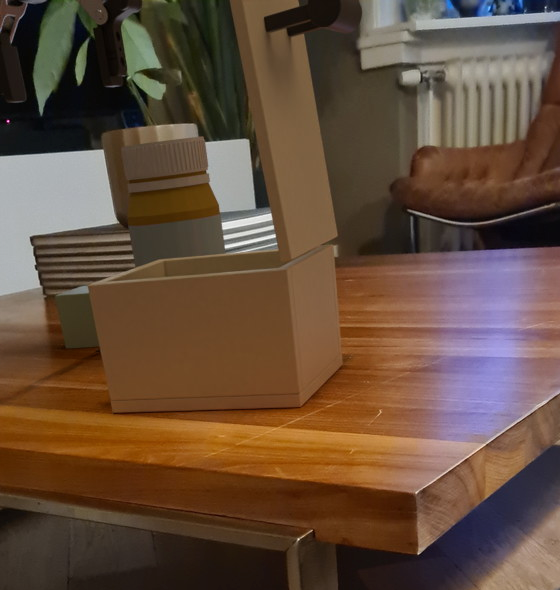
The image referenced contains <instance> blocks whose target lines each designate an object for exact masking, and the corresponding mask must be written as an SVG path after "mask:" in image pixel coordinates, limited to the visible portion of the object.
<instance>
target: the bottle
mask: <svg viewBox="0 0 560 590" xmlns="http://www.w3.org/2000/svg"><path fill="white" fill-rule="evenodd" d="M120 153H121V159H122V164H123V170H124V176H125V178H126V181H128V183H126V186H127V190H128V193H129V198H128V206H127V213H126V219H127V226H128V233H129V240H130V244H131V251H132V256H133V263H134V268H137V267H139V266H142V265H145V264H148V263H151V262H153V261H156V260H159V259H171V258H182V257H194V256H205V255H216V254H227V253H226V246H225V238H224V231H223V223H222V215H221V211H220V203H219V202H218V200H217V197H216V195H215V193H214V191H213V188H212V187H211V185H210V182H211V178H210V173H208V172H207V171H208V170H209V159H208V152H207V145H206V139H204V136H193V137H186V138H185V137H184V138H175V139H167V140H160V141H152V142H145V143H144V142H143V143H138V144H136V143H135V144H129V145H124V146H121V150H120Z"/></svg>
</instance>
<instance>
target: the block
mask: <svg viewBox="0 0 560 590" xmlns="http://www.w3.org/2000/svg"><path fill="white" fill-rule="evenodd" d="M54 300H55V304H56V309H57V313H58V319H59V323H60V328H61V332H62V337H63V343H64V346H65V349H82V348H97V347H99V349H98V350H95V351H94V353H101V351H100V346H99V341H98V336H97V331H96V326H95V321H94V316H93V311H92V306H91V301H90V296H89V291H88V285H81V286H78V287H76V288H72V289H70V290H67V291H64V292H61V293H58V294H55V295H54Z"/></svg>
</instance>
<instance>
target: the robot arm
mask: <svg viewBox="0 0 560 590" xmlns="http://www.w3.org/2000/svg"><path fill="white" fill-rule="evenodd" d="M75 1H76V2H78V4H79V5H80V6H81V7H82V8H83V9H84V11H85V12H86V13H87V15H88V16H89V17H90V18H91V19H92V20H93V22H94V23H95V24H96V27H93V28H92V32H93V38H94V43H95V48H96V49H95V50H96V56H97V61H98V68H99V72H100V79H101V83H102V85H103V86H104V88H115V87H122V86H123V85H124V77H127V73H128V63H127V58H126V51H125V45H124V44H125V43H124V39H123V38H124V37H123V32H122V31H123V30H122V26H123V22H124V21H125V19H127V18H128V17H130V16H131V15H132V14H134V13H139V12H140V11H141V9H142V8H143V0H75ZM44 2H45V3H46V2H47V0H0V95H1V96H2V95H3V98H4V100H5V101H6V103H11V104H12V103H17V104H18V103H23V102H26V101H27V92H26V86H25V81H24V76H23V72H22V66H21V63H20V58H19V52H18V47H17V46H14V45H12V43H13V40H14V37H15V33H16V30H17V28H18V24H19V21H20V19H22V18H23V16H24V15H25V13H26V10H27V7H28V5H29V4H33V5H36V4H42V3H44Z"/></svg>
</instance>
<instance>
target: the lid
mask: <svg viewBox="0 0 560 590" xmlns="http://www.w3.org/2000/svg"><path fill="white" fill-rule="evenodd" d="M229 3H230V4H229V5H230V10H231V15H232V19H233V25H234V31H235V35H236V36H235V37H236V40H237V45H238V50H239V56H240V61H241V65H242V71H243V75H244V81H245V88H246V92H247V97H248V103H249V107H250V112H251V117H252V122H253V127H254V132H255V137H256V142H257V147H258V153H259V158H260V163H261V168H262V173H263V178H264V184H265V188H266V194H267V198H268V205H269V209H270V214H271V221H272V225H273V230H274V235H275V241H276V245H277V249H278V251H279V256H280V261H281V262H284V261H289V260H292V259H294V258H296V257H298V256H300V255H302V254H304V253H306V252H308V251H310V250H312V249H314V248H316V247H318V246H320V245H325V243H328V242H330V241H331V240H334V239H335V238H337V237H339V234H338V229H337V222H336V217H335V211H334V204H333V199H332V193H331V187H330V180H329V174H328V168H327V163H326V158H325V151H324V144H323V139H322V133H321V127H320V119H319V115H318V109H317V103H316V97H315V92H314V86H313V85H314V84H313V79H312V73H311V68H310V67H311V66H310V61H309V56H308V50H307V49H308V48H307V44H306V37H305V34H307V33H311V32H314V31H319V30H322V29H325V30H330V31H334V32H337V33H342V34H349V33H352V32H354V31H355V30H356V29H357V28H358V27H359V26H360V23H361V21H362V18H363V9H362V5H361V3H360V1H359V0H307V3H305V4H302V5H300V2H299V0H229Z"/></svg>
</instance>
